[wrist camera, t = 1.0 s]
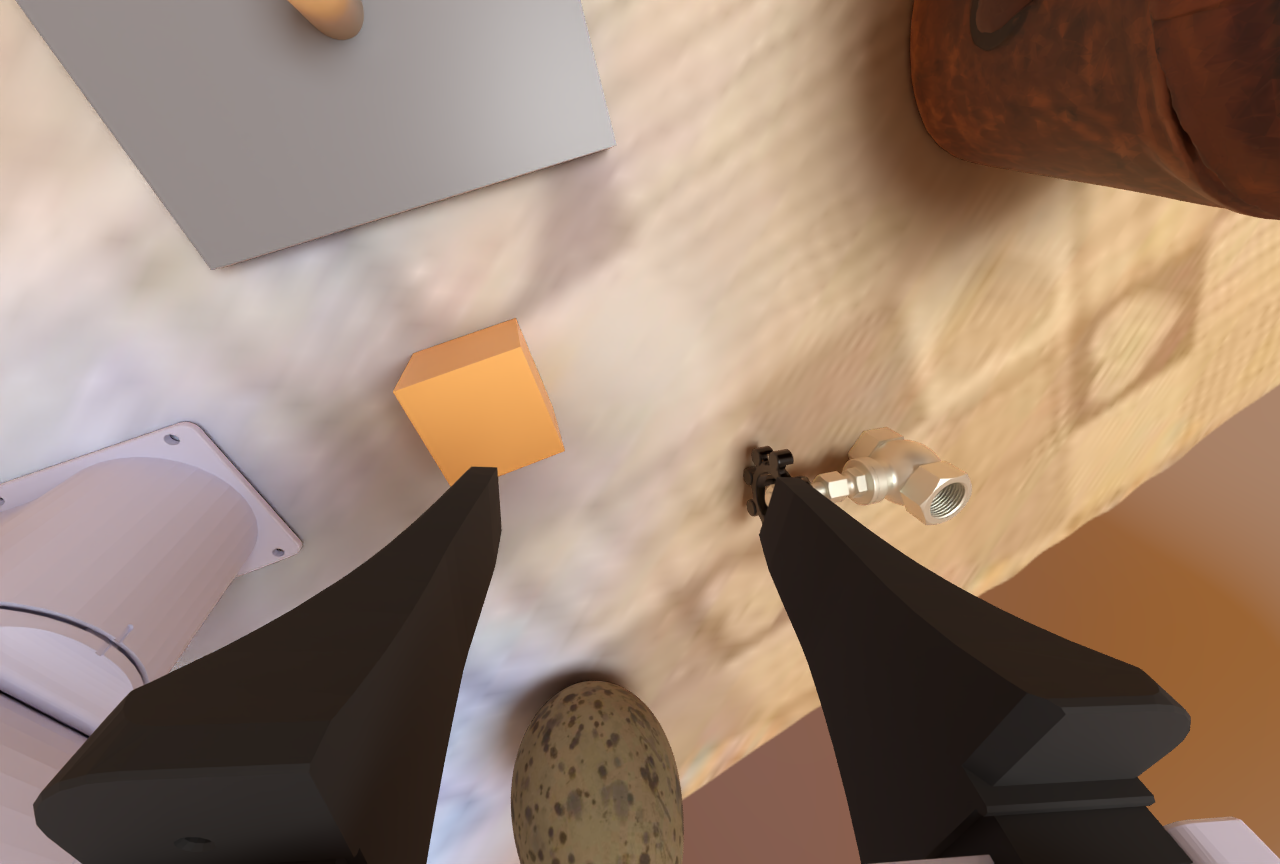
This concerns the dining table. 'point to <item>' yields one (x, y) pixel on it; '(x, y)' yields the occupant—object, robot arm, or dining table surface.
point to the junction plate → (328, 104)
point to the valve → (873, 477)
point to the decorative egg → (596, 782)
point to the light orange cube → (480, 403)
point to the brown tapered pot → (1109, 93)
